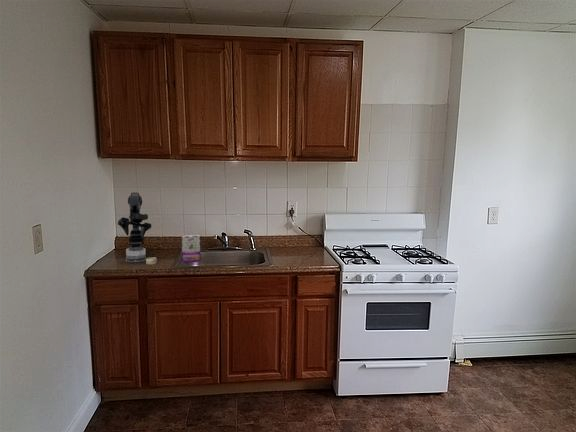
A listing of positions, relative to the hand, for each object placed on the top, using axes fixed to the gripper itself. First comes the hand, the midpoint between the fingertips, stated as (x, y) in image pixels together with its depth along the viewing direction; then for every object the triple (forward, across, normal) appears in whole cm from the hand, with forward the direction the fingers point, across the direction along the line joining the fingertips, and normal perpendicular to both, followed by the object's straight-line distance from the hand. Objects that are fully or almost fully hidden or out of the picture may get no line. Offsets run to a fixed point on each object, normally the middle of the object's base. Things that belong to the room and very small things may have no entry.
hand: (135, 236), depth 222 cm
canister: (+8, +9, +15) cm, 19 cm away
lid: (+14, +12, +4) cm, 19 cm away
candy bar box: (+15, +32, -9) cm, 36 cm away
